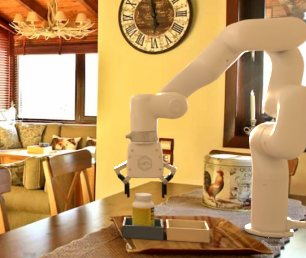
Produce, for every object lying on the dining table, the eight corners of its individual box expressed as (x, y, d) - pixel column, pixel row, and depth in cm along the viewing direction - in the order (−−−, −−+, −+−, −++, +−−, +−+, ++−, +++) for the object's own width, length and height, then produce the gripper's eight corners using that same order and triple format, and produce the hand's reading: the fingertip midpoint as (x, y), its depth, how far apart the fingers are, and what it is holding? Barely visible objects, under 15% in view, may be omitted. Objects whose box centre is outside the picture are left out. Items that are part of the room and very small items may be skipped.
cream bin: (205, 232, 148) (206, 220, 148) (209, 242, 138) (209, 229, 138) (166, 230, 151) (166, 219, 150) (167, 240, 141) (167, 227, 141)
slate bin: (162, 230, 151) (162, 218, 151) (163, 240, 141) (163, 227, 141) (124, 228, 154) (124, 216, 154) (122, 237, 144) (122, 225, 144)
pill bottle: (155, 235, 144) (155, 196, 143) (132, 234, 145) (132, 196, 144) (153, 229, 150) (153, 192, 149) (132, 229, 151) (132, 191, 150)
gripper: (112, 139, 144) (114, 199, 145) (176, 138, 140) (178, 200, 141) (114, 136, 151) (115, 194, 153) (175, 135, 147) (176, 194, 148)
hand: (145, 197), depth 147 cm, fingers open, 9 cm apart
